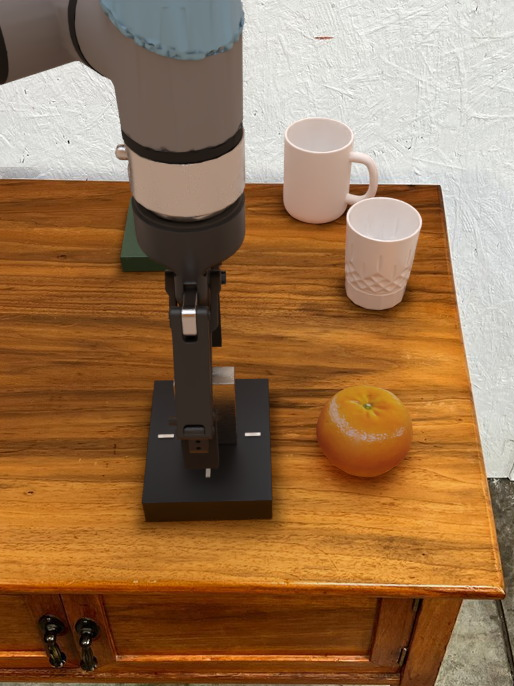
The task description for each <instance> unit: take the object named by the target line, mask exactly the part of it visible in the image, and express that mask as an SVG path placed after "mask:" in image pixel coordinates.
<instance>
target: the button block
mask: <svg viewBox="0 0 514 686" xmlns="http://www.w3.org/2000/svg"><path fill="white" fill-rule="evenodd" d="M131 201H132V196H130V197H129V204H128V209H127V215H126V219H125V220H126V221H125V226H124V233H123V238H122V243H121V244H122V245H121V251H120V256H119V258H120V264H121V270H122V272H123V273H125V272H128V273H129V272H130V273H131V272H165V270H171V269H169V268H167V267H166V266H164V265H162V264H159V263H157V262H155V261H154V260H152V259H150V258H149V257H148V256H147V255H146V254H145V253H144V252H143V251H142V250H141V248H140V246H139V244H138V242H137V238H136V231H135V224H134V217H133V210H132V203H131Z"/></svg>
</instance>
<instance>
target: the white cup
mask: <svg viewBox="0 0 514 686" xmlns="http://www.w3.org/2000/svg"><path fill="white" fill-rule="evenodd" d="M345 221H346V222H345V245H344V246H345V248H344V273H345V278H344V279H345V280H344V281H345V282H344V288H345V293H346V296H347V297H348V299H350V301H351V302H352V303H354V304H355V305H357V306H360V307H361V308H363V309H366V310H374V311H383V310H387V309H392V308H394V307H395V306H396V305H398V304H399V303H401V302H402V300H403V298H404V295H405V293H406V289H407V285H408V281H409V279H410V276H411V271H412V267H413V264H414V260H415V256H416V251H417V247H418V243H419V238H420V235H421V230H422V225H423V218H422V216H421V214H420V212H419V211H418V210H417V209H416V208H415V207H414V206H412V205H411V204H409V203H407V202H406V201H403V200H401V199H397V198H393V197H386V196H384V197H383V196H376V197H375V196H374V198H368V199H364V200H361V201H359V202H357V203H355V204H354V205H351V206H350V207H349V209H347V212H346V220H345Z"/></svg>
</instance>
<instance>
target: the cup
mask: <svg viewBox="0 0 514 686" xmlns="http://www.w3.org/2000/svg"><path fill="white" fill-rule="evenodd" d="M283 134H284V137H283V183H282V184H283V185H282V186H283V187H282V188H283V189H282V196H283V197H282V198H283V199H282V202H283V205H284V208H285V210H286V212H287V213H288V214H289V215H290V216H291V217H292V218H294V219H296V220H298V221H300V222H303V223H307V224H314V225H315V224H318V225H319V224H327V223H330V222H333V221H336V220H337V219H339V218H340V217H341V216H342V215H344V213H345V212H346V210H347V208H348V205H350V206H353V205H354V204H355V203H357V202H359V201H361V200H364V199H368V198H374V197H375V196H376V194H377V191H378V186H379V171H378V166H377V164H376V162H375V160H374V159H373V158H372V157H371V156H370V155H368V154H367V153H364V152H361V151H356V150H355V151H354V141H355V134H354V131H353V130H352V128H351V127H350V126H349V125H347V124H346V123H345V122H343V121H341V120H337V119H334V118H330V117H324V116H311V117H304V118H301V119H298V120H295V121H293V122H292V123H290V124H289V125H288V126H287V127H286V129H285V130H284V133H283ZM352 163H355V164H361V165H364V166H365V167H366V169H367V173H368V177H369V178H368V179H369V184H368V187H367V188H368V189H367V191H366V192H365V194H363V195H356V194H352V193H350V185H351V174H352Z"/></svg>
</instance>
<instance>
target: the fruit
mask: <svg viewBox="0 0 514 686" xmlns="http://www.w3.org/2000/svg"><path fill="white" fill-rule="evenodd" d="M413 426H414V425H413V419H412V417H411V414H410V412H409V410H408V409H407V407H406V406H405V404H404V403H403V402H402V400H401V399H400V398H399V397H398V396H397V395H396V394H394V393H393V392H392V391H390V390H387V389H385V388H382V387H378V386H375V385H374V386H373V385H366V384H359V385H353V386H349V387H346V388H344V389H341V390H339V391H337V392H336V393H335V394H333V395H332V396H331V397H330V398H329V399H328V400H327V402H326V403H325V404H324V405H323V407H322V409H321V411H320V413H319V416H318V419H317V423H316V427H315V434H316V439H317V440H316V441H317V444H318V446H319V448H320V449H321V451H322V453H323V454H324V456H325V457H326V458H327V460H328V461H329V463H330V464H331V465H333V466H334V467H335V468H337V469H339V470H341V471H342V472H344V473H346V474H349V475H350V476H354V477H355V476H356V477H359V478H360V477H361V478H374V477H378V476H381V475H383V474H385V473H387V472H388V471H390V470H392V469H393V468H395V467H396V466H398V465H399V464H400V463H402V462H403V461H404V459H405V458H406V457H407V455H408V453H409V452H410V448H411V447H412V441H413V436H414V427H413Z"/></svg>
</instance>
